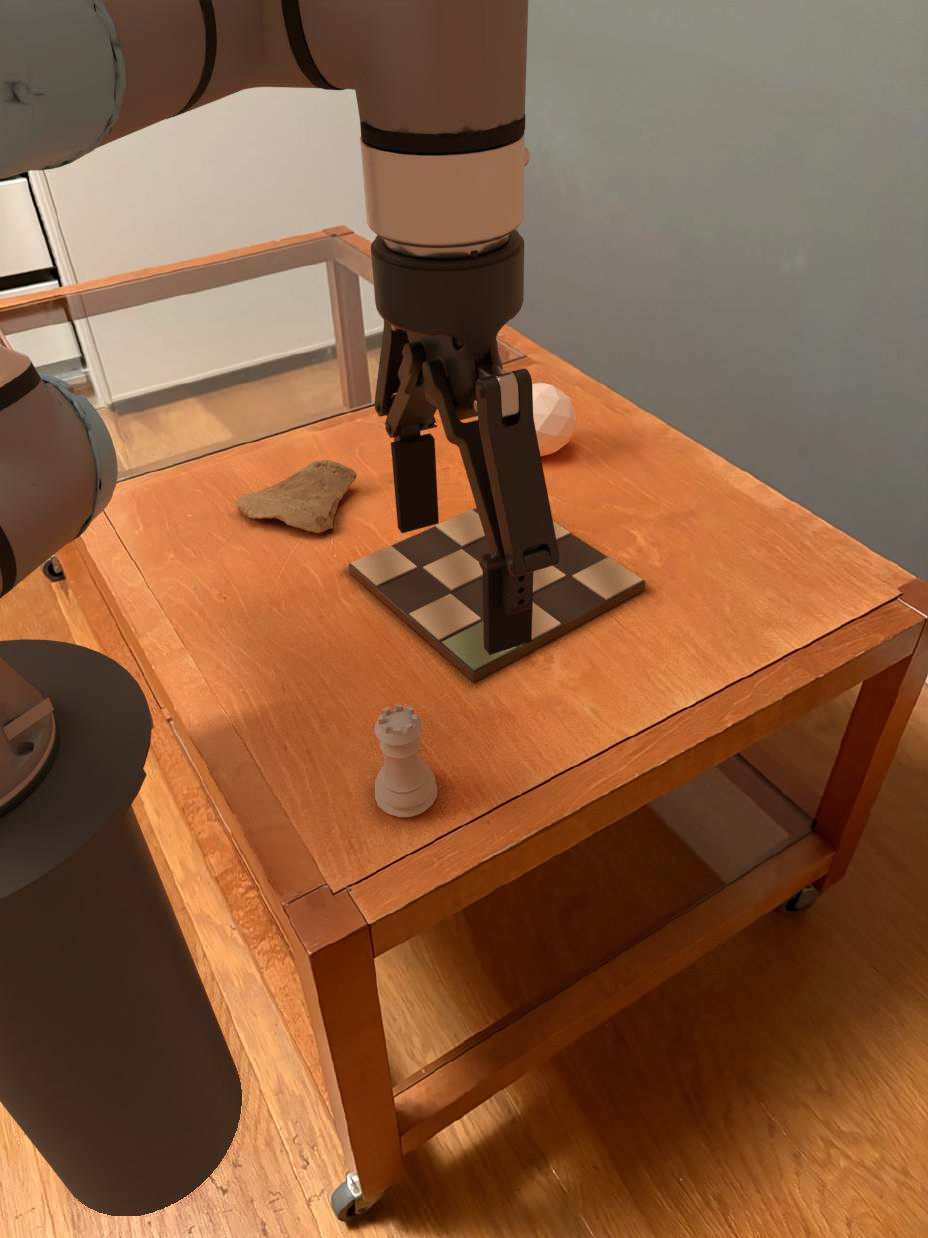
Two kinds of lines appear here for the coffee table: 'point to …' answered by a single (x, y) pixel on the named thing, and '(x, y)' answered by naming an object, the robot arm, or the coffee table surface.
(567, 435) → the geometric ball
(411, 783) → the rook chess piece
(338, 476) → the pottery shard
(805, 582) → the coffee table surface
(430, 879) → the coffee table surface
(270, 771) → the coffee table surface
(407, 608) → the game board
